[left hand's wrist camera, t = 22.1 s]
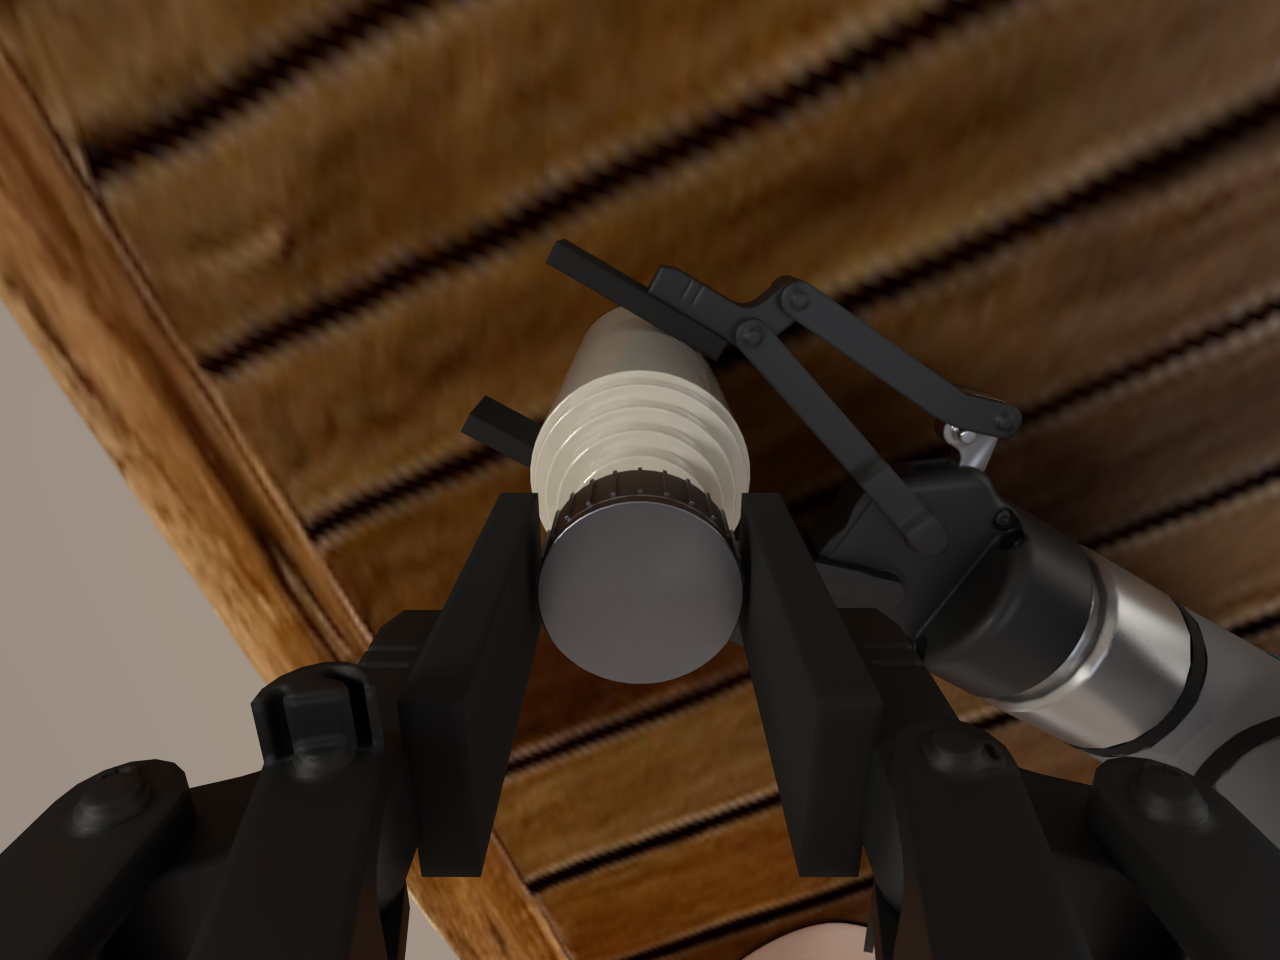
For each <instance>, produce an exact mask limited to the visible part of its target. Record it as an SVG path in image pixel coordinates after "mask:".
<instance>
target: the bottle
mask: <svg viewBox="0 0 1280 960" xmlns="http://www.w3.org/2000/svg"><path fill="white" fill-rule="evenodd" d="M638 467H642V470H651V471H658V472H663V470H666V471H667V473H668V474H671V475H674V476H677V477H679V478H682V479H684V480H686V478H688V479H690V482H691V484H693V485H694V486H696V487H697V488H699V489H700V490H702V491H703V492H704V493H706V492H708V493H709V494H710V497H711V500H712V501H713V502H714V503H715V504H716V505H717V507H718V508H719V510H721V509H723V510H724V512H725V515H726V519H727V522H728V526H729V530H731V529H733V532H734V530H735V529H736V527H737V525H738V523H739V520H740V516H741V497H742V493H748V491H749V484H750V461H749V456H748V450H747V447H746V444H745V441H744V438H743V435H742V433H741V431H740V429H739V427H738V424H737V422H736V420H735V418H734V416H733V414H732V411H731V409H730V407H729V405H728V403H727V401H726V398H725V396H724V394H723V392H722V390H721V388H720V385H719V383H718V381H717V379H716V377H715V375H714V373H713V370H712V368H711V366H710V364H709V362H708V360H707V357H706V355H704V354H702V353H700V352H699V351H697V350H695V349H694V348H692V347H690V346H688V345H687V344H685V343H683V342H682V341H680V340H678V339H676V338H675V337H673V336H671V335H669V334H668V333H666V332H664V331H663V330H661V329H659V328H657V327H656V326H654V325H652V324H650V323H649V322H647V321H645V320H644V319H642V318H640V317H638V316H637V315H635V314H633V313H632V312H630V311H628V310H626V309H625V308H623V307H619V308H616V309H614V310H612V311H610V312H608V313H606V314H605V315H603V316H602V317H600V318H599V319H598V320H597V321H596V322H595V323H594V324H593V325H592V326H591V327H590V328H589V330H588V331H587V332H586V334H585V335H584V337H583V339H582V341H581V343H580V345H579V347H578V350H577V352H576V354H575V356H574V358H573V360H572V363H571V365H570V367H569V369H568V371H567V373H566V376H565V378H564V380H563V382H562V384H561V386H560V389H559V391H558V393H557V395H556V397H555V399H554V402H553V404H552V406H551V408H550V410H549V412H548V415H547V417H546V419H545V421H544V423H543V425H542V428H541V430H540V432H539V435H538V437H537V439H536V442H535V445H534V449H533V453H532V459H531V467H530V479H531V488H532V493H538V497H539V516H540V519H541V521H542V524H543V526H544V528H545V530H546V531H548V530H551V528H552V524H553V521H554V517H555V514H556V511H557V510H560V511H561V509H562V508H563V506H564V505H565V504H566V503H567V501H568V500H569V499H570V494H571V493H572V492H574V493H575V494H576V493H577V492H578V491H579V490H581V489H582V488H583V487H585V486H586V485H588V484H589V483H590V480H591V479H593V478H594V480H597V479H599V478H602V477H604V476H607V475H610V474H613V471H615V470H617V472H623V471H629V470H638Z"/></svg>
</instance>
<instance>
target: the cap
mask: <svg viewBox="0 0 1280 960" xmlns="http://www.w3.org/2000/svg"><path fill="white" fill-rule="evenodd" d="M539 560H541V564H540V567H539V571H538V574H537V578H536V583H537V604H538V609H539V613H540V617H541V620H542V622H543V624H544V627H545V629H546V631H547V632H548V634H549V636H550V637H551V639H552V641H553V642H554V643H555V644H556V646H557V647H558V648H559V649H560V650H561V651H562V652H563V653H564V654H565V655H566V656H567V657H568V658H569V659H570V660H572V661H573V662H574V663H576V664H577V665H578V666H580V667H582V668H584V669H585V670H587V671H589V672H591V673H593V674H596V675H598V676H600V677H603V678H607V679H610V680H614V681H619V682H624V683H636V684H642V683H656V682H662V681H667V680H671V679H674V678H677V677H680V676H683V675H685V674H688V673H690V672H692V671H694V670H695V669H697V668H699V667H701V666H702V665H703V664H705V663H706V662H708V661H709V660H710V659H712V658H713V657H714V656H715V655H716V654H717V653H718V652H719V651H720V650H721V649H722V648H723V647H724V645H725V644H726V643H727V641H728V640H729V638H730V637H731V635H732V634H733V632H734V630H735V628H736V626H737V624H738V622H739V619H740V615H741V612H742V608H743V601H744V583H743V582H745V578H744V575H743V571H742V568H741V564H740V561H739V560H741V555H740V552H739V549H738V545H737V542H736V538H735V535H734V532H733V529H731V530H729V526H728V522H727V519H726V515H725V512H724V510H723V509H721V510H719V508H718V507H717V505H716V504H715V503H714V502H713V501H712V500H711V497H710V494H709V493H708V492H706V493H704V492H703V491H702V490H700V489H699V488H697V487H696V486H694V485H693V484H691V482H690V479H688V478H686V480H684V479H682V478H679V477H677V476H674V475H671V474H668V473H667V471H666V470H663V472H658V471H651V470H642V467H638V470H629V471H623V472H617V470H615V471H613V474H610V475H607V476H604V477H602V478H599V479H597V480H594V478H593V479H591V480H590V483H589V484H588V485H586V486H585V487H583V488H582V489H581V490H579V491H578V492H577V493H576V494H575V493H574V492H572V493H571V494H570V499H569V500H568V501H567V503H566V504H565V505H564V506H563V508H562V509H561V511H560V510H557V511H556V514H555V517H554V521H553V524H552V528H551V530H548V531H547V534H546V537H545V541H544V544H543V548H542V551H541V555H540V558H539Z"/></svg>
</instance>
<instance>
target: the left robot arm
mask: <svg viewBox="0 0 1280 960" xmlns="http://www.w3.org/2000/svg"><path fill="white" fill-rule="evenodd" d="M739 552H740V555H741V560H739V561H740V564H741V568H742V571H743V575H744V578H745V582H743V583H744V601H743V608H742V612H741V615H740V619H739V622H738V624H739V628H740V632H741V636H742V640H743V644H744V649H745V653H746V657H747V661H748V665H749V669H750V674H751V678H752V682H753V686H754V690H755V694H756V698H757V703H758V707H759V711H760V715H761V719H762V723H763V728H764V732H765V736H766V740H767V744H768V748H769V753H770V757H771V761H772V765H773V769H774V773H775V778H776V782H777V786H778V790H779V794H780V798H781V802H782V807H783V811H784V815H785V819H786V823H787V827H788V832H789V836H790V840H791V844H792V848H793V852H794V857H795V861H796V865H797V869H798V873H799V877H858V875H859V868H860V861H861V854H862V847H863V845H864V848H865V851H866V854H867V857H868V859H869V862H870V865H871V868H872V871H873V874H874V876H875V878H874V885H873V891H872V897H871V904H870V910H869V917H868V923H867V930H866V936H865V943H864V951H863V952H868V953H873V949H874V950H875V960H1280V849H1279V848H1278V847H1277V846H1276V845H1274V844H1273V843H1272V842H1271V841H1270V840H1269V839H1268V838H1267V837H1266V836H1265V835H1264V834H1263V833H1262V832H1261V831H1260V830H1259V829H1258V828H1257V827H1256V826H1255V825H1254V824H1253V823H1251V822H1250V821H1249V820H1248V819H1247V818H1246V817H1245V816H1244V815H1243V814H1242V813H1241V812H1240V811H1239V810H1238V809H1237V808H1236V807H1235V806H1234V805H1233V804H1232V803H1231V802H1230V801H1229V800H1227V799H1226V798H1225V797H1224V796H1223V795H1221V794H1220V793H1219V792H1217V791H1216V790H1215V789H1213V788H1212V787H1211V786H1209V785H1208V784H1207V783H1206V782H1204V781H1203V780H1201V779H1199V778H1197V777H1195V776H1193V775H1191V774H1189V773H1187V772H1185V771H1183V770H1181V769H1179V768H1177V767H1174V766H1171V765H1168V764H1166V763H1162V762H1158V761H1155V760H1152V759H1148V758H1138V757H1129V756H1123V757H1118V758H1113V759H1108V760H1106V761H1105V762H1104V763H1102V764H1101V765H1100V766H1099V767H1098V768H1097V769H1096V772H1095V775H1094V779H1093V782H1092V786H1091V785H1087V784H1083V783H1078V782H1074V781H1069V780H1065V779H1060V778H1056V777H1051V776H1047V775H1043V774H1039V773H1035V772H1032V771H1029V770H1025V769H1022V768H1019V767H1018V766H1017V764H1016V762H1015V760H1014V759H1013V757H1012V756H1011V754H1010V753H1009V751H1008V750H1007V748H1006V747H1005V746H1004V745H1003V744H1002V743H1000V742H999V741H998V740H997V739H995V738H994V737H993V736H992V735H990V734H989V733H988V732H986V731H983V730H981V729H979V728H977V727H975V726H973V725H971V724H969V723H967V722H963V721H960V720H959V719H958V717H957V716H956V714H955V712H954V711H953V709H952V708H951V706H950V705H949V703H948V701H947V700H946V698H945V697H944V695H943V693H942V692H941V690H940V689H939V687H938V686H937V684H936V682H935V681H934V679H933V678H932V676H931V674H930V673H929V671H928V670H927V668H926V666H923V665H922V660H921V659H920V657H919V655H918V654H917V652H916V651H915V649H912V644H911V643H910V641H909V640H908V638H907V636H906V635H905V633H904V632H903V630H902V628H901V627H900V625H899V624H897V623H896V622H895V621H893V620H892V619H890V618H889V617H888V616H886V615H885V614H884V613H882V612H881V611H879V610H878V609H877V608H837V607H836V605H835V603H834V601H833V599H832V597H831V595H830V593H829V591H828V589H827V587H826V585H825V583H824V581H823V579H822V577H821V575H820V573H819V571H818V569H817V567H816V565H815V563H814V561H813V559H812V557H811V555H810V553H809V551H808V549H807V547H806V545H805V543H804V541H803V539H802V537H801V535H800V533H799V531H798V529H797V527H796V525H795V523H794V521H793V519H792V517H791V515H790V513H789V511H788V509H787V507H786V505H785V503H784V501H783V499H782V497H781V495H780V493H742V497H741V516H740V534H739ZM540 555H541V535H540V516H539V497H538V493H500V495H499V497H498V499H497V501H496V503H495V505H494V507H493V509H492V511H491V513H490V515H489V517H488V519H487V521H486V523H485V525H484V527H483V529H482V531H481V533H480V535H479V537H478V539H477V541H476V543H475V545H474V547H473V549H472V551H471V553H470V555H469V557H468V559H467V561H466V563H465V565H464V567H463V569H462V571H461V573H460V575H459V577H458V579H457V581H456V583H455V585H454V587H453V589H452V591H451V593H450V595H449V597H448V599H447V601H446V603H445V605H444V607H443V609H442V610H404V611H402V612H401V613H400V614H398V615H397V616H396V617H394V618H393V619H392V620H390V621H389V622H387V623H386V624H385V625H383V626H382V627H381V628H380V630H379V631H378V633H377V634H376V636H375V638H374V639H373V641H372V642H371V644H370V646H369V649H368V651H366V652H365V654H364V655H363V657H362V658H361V660H360V662H359V663H358V665H356V664H353V663H349V662H323V663H319V664H314V665H309V666H305V667H301V668H299V669H296V670H294V671H292V672H289V673H287V674H285V675H282V676H280V677H278V678H277V679H276V680H274V681H273V682H271V683H270V684H268V685H267V686H266V687H264V688H263V689H262V690H261V691H260V692H259V693H258V695H257V696H256V697H255V699H254V700H253V701H252V702H251V708H252V712H253V716H254V721H255V725H256V729H257V734H258V738H259V742H260V747H261V751H262V755H263V760H264V765H263V768H262V770H261V771H258V772H255V773H251V774H248V775H245V776H241V777H237V778H233V779H229V780H224V781H220V782H215V783H211V784H206V785H202V786H198V787H194V788H189V786H188V782H187V779H186V775H185V772H184V771H183V770H182V769H181V768H179V767H178V766H177V765H176V764H175V763H173V762H168V761H162V760H157V759H152V760H143V761H134V762H129V763H126V764H123V765H119V766H116V767H113V768H110V769H107V770H104V771H102V772H100V773H98V774H96V775H94V776H92V777H90V778H89V779H86V780H85V781H83V782H81V783H79V784H77V785H76V786H74V787H73V788H72V789H71V790H69V791H68V792H67V793H65V794H64V795H63V796H61V797H60V798H59V799H58V800H56V801H55V802H54V803H53V804H52V805H51V806H50V807H49V808H48V809H47V810H46V811H45V812H44V813H43V814H41V815H40V816H39V817H38V818H37V819H36V820H35V821H34V822H33V823H32V824H31V825H30V826H29V827H28V828H27V829H26V830H25V831H24V832H23V833H22V834H21V835H20V836H19V837H18V838H17V839H16V840H15V841H13V842H12V843H11V844H10V845H9V846H8V847H7V848H6V849H5V850H4V851H3V852H2V853H1V854H0V960H405V951H406V941H407V931H408V921H409V911H410V906H409V898H408V891H407V885H406V877H407V874H408V871H409V869H410V866H411V863H412V860H413V857H414V854H415V852H416V849H417V847H418V854H419V861H420V868H421V875H422V877H481V873H482V869H483V865H484V861H485V856H486V852H487V848H488V844H489V840H490V836H491V832H492V827H493V823H494V819H495V815H496V811H497V807H498V802H499V798H500V794H501V790H502V786H503V782H504V777H505V773H506V769H507V765H508V761H509V757H510V752H511V748H512V744H513V740H514V736H515V732H516V728H517V723H518V719H519V715H520V711H521V707H522V703H523V698H524V694H525V690H526V686H527V682H528V678H529V673H530V669H531V665H532V661H533V657H534V653H535V649H536V644H537V640H538V636H539V632H540V628H541V624H542V620H541V617H540V613H539V609H538V604H537V583H536V578H537V574H538V571H539V567H540V564H541V560H539V558H540Z"/></svg>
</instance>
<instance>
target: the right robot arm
mask: <svg viewBox="0 0 1280 960" xmlns="http://www.w3.org/2000/svg"><path fill="white" fill-rule="evenodd" d="M546 263H547V264H549V265H551V266H552V267H554V268H556V269H557V270H559V271H561V272H563V273H564V274H566V275H568V276H569V277H571V278H573V279H575V280H576V281H578V282H580V283H582V284H583V285H585V286H587V287H588V288H590V289H592V290H594V291H595V292H597V293H599V294H600V295H602V296H604V297H606V298H607V299H609V300H611V301H613V302H614V303H616V304H618V305H619V306H621V307H623V308H625V309H626V310H628V311H630V312H632V313H633V314H635V315H637V316H638V317H640V318H642V319H644V320H645V321H647V322H649V323H650V324H652V325H654V326H656V327H657V328H659V329H661V330H663V331H664V332H666V333H668V334H669V335H671V336H673V337H675V338H676V339H678V340H680V341H682V342H683V343H685V344H687V345H688V346H690V347H692V348H694V349H695V350H697V351H699V352H700V353H702V354H704V355H706V356H707V357H709V358H711V359H712V360H714V361H717V360H718V358H719V356H720V355H721V353H722V351H723V350H724V348H725V346H726V345H727V343H728V342H729V343H730V344H732V345H734V346H736V347H737V348H739V349H740V351H741V352H742V353H743V354H744V355H745V356H746V357H747V358H748V360H749V361H750V362H751V363H752V364H753V365H754V366H755V367H756V369H757V370H758V371H759V372H760V373H761V374H762V375H763V376H764V378H765V379H766V380H767V381H768V382H769V383H770V384H771V385H772V387H773V388H774V389H775V390H776V391H777V392H778V393H779V394H780V396H781V397H782V398H783V399H784V400H785V401H786V402H787V403H788V405H789V406H790V407H791V408H792V409H793V410H794V411H795V412H796V414H797V415H798V416H799V417H800V418H801V419H802V420H803V421H804V423H805V424H806V425H807V426H808V427H809V428H810V429H811V430H812V432H813V433H814V434H815V435H816V436H817V437H818V438H819V439H820V440H821V442H822V443H823V444H824V445H825V446H826V447H827V448H828V449H829V451H830V452H831V453H832V454H833V455H834V456H835V457H836V458H837V460H838V461H839V462H840V463H841V464H842V465H843V466H844V467H845V469H846V470H847V471H848V472H849V473H850V474H849V476H848V477H847V478H846V480H845V481H844V483H843V484H842V485H841V487H840V489H839V491H838V494H837V496H836V499H835V501H834V504H833V506H832V507H831V508H830V509H829V510H827V511H826V512H825V513H824V514H823V515H822V516H820V517H819V518H818V519H817V520H816V522H815V523H814V524H813V526H812V527H811V528H808V527H804V526H799V525H796V527H797V529H798V531H799V533H800V535H801V537H802V539H803V541H804V543H805V545H806V547H807V549H808V551H809V553H810V555H811V557H812V559H813V561H814V563H815V565H816V567H817V569H818V571H819V573H820V575H821V577H822V579H823V581H824V583H825V585H826V587H827V589H828V591H829V593H830V595H831V597H832V599H833V601H834V603H835V605H836V607H837V608H877V609H878V610H879V611H881V612H882V613H884V614H885V615H886V616H888V617H889V618H890V619H892V620H893V621H895V622H896V623H897V624H899V625H900V627H901V628H902V630H903V632H904V633H905V635H906V636H907V638H908V640H909V641H910V643H911V644H912V649H915V651H916V652H917V654H918V655H919V657H920V659H921V660H922V665H923V666H926V668H927V670H928V671H929V672H930V673H932V674H934V675H936V676H938V677H940V678H942V679H944V680H946V681H947V682H949V683H951V684H953V685H955V686H957V687H959V688H961V689H963V690H965V691H967V692H969V693H971V694H973V695H976V696H979V697H982V698H983V699H984V700H985V701H987V702H988V703H989V704H990V705H992V706H994V707H996V708H998V709H1000V710H1002V711H1004V712H1006V713H1008V714H1010V715H1012V716H1014V717H1016V718H1018V719H1020V720H1022V721H1024V722H1026V723H1028V724H1030V725H1032V726H1034V727H1036V728H1038V729H1040V730H1042V731H1044V732H1046V733H1048V734H1050V735H1052V736H1054V737H1056V738H1058V739H1060V740H1062V741H1063V742H1065V743H1066V744H1068V745H1070V746H1072V747H1074V748H1075V749H1079V750H1081V751H1083V752H1084V753H1086V754H1088V755H1090V756H1092V757H1094V758H1095V759H1097V760H1099V761H1101V762H1103V763H1104V762H1105V761H1106V760H1108V759H1113V758H1118V757H1123V756H1129V757H1138V758H1148V759H1152V760H1155V761H1158V762H1162V763H1166V764H1168V765H1171V766H1174V767H1177V768H1179V769H1181V770H1183V771H1185V772H1187V773H1189V774H1191V775H1193V776H1195V777H1197V778H1199V779H1201V780H1203V781H1204V782H1206V783H1207V784H1208V785H1209V786H1211V787H1212V788H1213V789H1215V790H1216V791H1217V792H1219V793H1220V794H1221V795H1223V796H1224V797H1225V798H1226V799H1227V800H1229V801H1230V802H1231V803H1232V804H1233V805H1234V806H1235V807H1236V808H1237V809H1238V810H1239V811H1240V812H1241V813H1242V814H1243V815H1244V816H1245V817H1246V818H1247V819H1248V820H1249V821H1250V822H1251V823H1253V824H1254V825H1255V826H1256V827H1257V828H1258V829H1259V830H1260V831H1261V832H1262V833H1263V834H1264V835H1265V836H1266V837H1267V838H1268V839H1269V840H1270V841H1271V842H1272V843H1273V844H1274V845H1276V846H1277V847H1278V848H1279V849H1280V657H1279V656H1277V655H1275V654H1273V653H1271V652H1270V653H1267V652H1264V651H1262V650H1261V649H1259V648H1257V647H1256V646H1254V645H1252V644H1250V643H1249V642H1247V641H1245V640H1244V639H1242V638H1240V637H1238V636H1236V635H1234V634H1233V633H1231V632H1229V631H1227V630H1225V629H1224V628H1222V627H1220V626H1218V625H1216V624H1215V623H1213V622H1211V621H1209V620H1207V619H1206V618H1204V617H1202V616H1200V615H1198V614H1197V613H1195V612H1193V611H1191V610H1190V609H1188V608H1186V607H1184V606H1182V605H1181V604H1179V603H1178V602H1177V601H1176V600H1174V599H1173V598H1171V597H1170V596H1168V595H1167V594H1165V593H1163V592H1162V591H1160V590H1158V589H1157V588H1155V587H1153V586H1152V585H1150V584H1148V583H1147V582H1145V581H1143V580H1142V579H1140V578H1138V577H1137V576H1135V575H1133V574H1132V573H1130V572H1128V571H1127V570H1125V569H1123V568H1122V567H1120V566H1118V565H1117V564H1115V563H1113V562H1112V561H1110V560H1108V559H1107V558H1105V557H1103V556H1102V555H1100V554H1098V553H1096V552H1095V551H1093V550H1091V549H1089V548H1087V547H1085V546H1083V545H1080V544H1078V543H1077V542H1076V541H1075V540H1073V539H1072V538H1071V537H1069V536H1068V535H1066V534H1065V533H1063V532H1061V531H1059V530H1058V529H1056V528H1054V527H1053V526H1051V525H1049V524H1048V523H1046V522H1044V521H1043V520H1041V519H1039V518H1037V517H1036V516H1034V515H1032V514H1031V513H1029V512H1027V511H1026V510H1024V509H1022V508H1021V507H1019V506H1017V505H1015V504H1014V503H1012V502H1010V501H1009V500H1007V499H1005V498H1004V497H1002V496H1000V495H999V494H998V493H997V491H996V490H995V488H994V486H993V483H992V481H991V479H990V478H989V476H988V475H987V474H986V473H985V472H984V470H985V468H986V466H987V463H988V461H989V459H990V456H991V454H992V452H993V449H994V447H995V445H996V442H997V440H998V438H1007V437H1010V436H1012V435H1013V434H1014V433H1016V432H1017V430H1018V429H1019V427H1020V426H1021V422H1022V417H1021V413H1020V412H1019V410H1018V409H1017V408H1015V407H1013V406H1011V405H1009V404H1007V403H1006V402H1004V401H1002V400H1000V399H998V398H996V397H994V396H992V395H990V394H988V393H986V392H984V391H982V390H978V389H974V388H970V387H966V386H962V385H957V384H953V383H949V382H947V381H946V380H944V379H943V378H942V377H940V376H939V375H937V374H936V373H935V372H933V371H932V370H930V369H929V368H927V367H926V366H925V365H923V364H922V363H920V362H919V361H918V360H916V359H915V358H913V357H912V356H911V355H909V354H908V353H906V352H905V351H904V350H902V349H901V348H899V347H898V346H897V345H895V344H894V343H892V342H891V341H889V340H888V339H887V338H885V337H884V336H882V335H881V334H880V333H878V332H877V331H875V330H874V329H873V328H871V327H870V326H868V325H867V324H866V323H864V322H863V321H861V320H860V319H859V318H857V317H856V316H854V315H853V314H852V313H850V312H849V311H847V310H846V309H844V308H843V307H842V306H840V305H839V304H837V303H836V302H835V301H833V300H832V299H830V298H829V297H828V296H826V295H825V294H823V293H822V292H821V291H819V290H818V289H816V288H815V287H814V286H812V285H811V284H809V283H806V282H805V281H802V280H800V279H797V278H795V277H792V276H781V277H779V278H777V279H776V280H775V281H774V282H773V283H772V284H771V287H770V288H768V289H767V290H766V291H765V292H764V293H762V294H761V295H760V296H759V297H758V298H756V299H755V300H753V301H751V302H748V303H737V302H734V301H732V300H730V299H728V298H727V297H725V296H723V295H722V294H720V293H718V292H717V291H715V290H713V289H712V288H710V287H708V286H707V285H705V284H703V283H702V282H700V281H698V280H697V279H695V278H693V277H692V276H690V275H688V274H687V273H685V272H683V271H682V270H680V269H678V268H677V267H674V266H667V265H660V266H659V268H658V270H657V272H656V274H655V275H654V277H653V279H652V281H651V283H650V284H649V286H648V288H647V287H646V286H644V285H642V284H641V283H639V282H637V281H635V280H634V279H632V278H630V277H629V276H627V275H625V274H624V273H622V272H620V271H619V270H617V269H615V268H613V267H612V266H610V265H608V264H607V263H605V262H603V261H602V260H600V259H598V258H597V257H595V256H593V255H591V254H590V253H588V252H586V251H585V250H583V249H581V248H580V247H578V246H576V245H574V244H573V243H571V242H569V241H568V240H566V239H562V240H559V241H556V243H555V245H554V247H553V249H552V251H551V253H550V255H549V257H548V259H547V261H546ZM795 321H797V322H798V323H800V324H801V325H803V326H804V327H805V328H807V329H808V330H810V331H811V332H813V333H814V334H816V335H817V336H818V337H820V338H821V339H823V340H824V341H826V342H827V343H829V344H830V345H831V346H833V347H834V348H836V349H837V350H839V351H840V352H841V353H843V354H844V355H846V356H847V357H849V358H850V359H852V360H853V361H854V362H856V363H857V364H859V365H860V366H862V367H863V368H864V369H866V370H867V371H869V372H870V373H872V374H873V375H875V376H876V377H877V378H879V379H880V380H882V381H883V382H885V383H886V384H887V385H889V386H890V387H892V388H893V389H895V390H896V391H898V392H899V393H900V394H902V395H903V396H905V397H906V398H908V399H909V400H911V401H912V402H913V403H915V404H916V405H918V406H919V407H921V408H922V409H924V410H925V411H926V412H928V413H929V414H931V415H932V416H934V417H935V424H934V429H935V432H936V434H937V435H938V436H939V437H940V438H942V439H943V440H944V441H946V442H947V443H948V444H949V445H950V447H951V455H950V457H946V458H936V459H926V460H916V461H907V462H897V463H886V462H885V460H884V459H883V458H882V457H881V456H880V455H879V454H878V453H877V452H876V450H875V449H874V448H873V447H872V446H871V445H870V444H869V442H868V441H867V440H866V439H865V438H864V437H863V436H862V434H861V433H860V432H859V431H858V430H857V429H856V427H855V426H854V425H853V424H852V423H851V422H850V420H849V419H848V418H847V417H846V416H845V415H844V414H843V412H842V411H841V410H840V409H839V408H838V407H837V405H836V404H835V403H834V402H833V401H832V400H831V399H830V397H829V396H828V395H827V394H826V393H825V392H824V390H823V389H822V388H821V387H820V386H819V385H818V384H817V382H816V381H815V380H814V379H813V378H812V377H811V375H810V374H809V373H808V372H807V371H806V370H805V369H804V367H803V366H802V365H801V364H800V363H799V362H798V360H797V359H796V358H795V357H794V356H793V355H792V354H791V352H790V351H789V350H788V349H787V348H786V347H785V345H784V344H783V343H782V342H781V341H780V340H779V339H778V337H777V335H779V334H780V333H781V332H782V331H784V330H785V329H786V328H787V327H789V326H790V325H791V324H792V323H794V322H795ZM541 428H542V425H540V424H538V423H536V422H535V421H533V420H531V419H529V418H527V417H525V416H523V415H521V414H520V413H518V412H516V411H514V410H512V409H510V408H508V407H506V406H505V405H503V404H501V403H499V402H497V401H495V400H493V399H491V398H490V397H488V396H486V395H485V396H484V398H483V399H482V400H481V401H480V402H479V404H478V405H477V406H476V407H475V408H474V409H473V411H472V412H471V413H470V414H469V416H468V418H467V420H466V422H465V424H464V426H463V428H462V430H461V432H462V433H464V434H466V435H468V436H470V437H472V438H474V439H476V440H478V441H479V442H481V443H483V444H485V445H487V446H489V447H491V448H493V449H495V450H497V451H499V452H501V453H502V454H504V455H506V456H508V457H510V458H512V459H514V460H516V461H518V462H520V463H522V464H524V465H526V466H527V467H529V468H530V467H531V459H532V453H533V449H534V445H535V442H536V439H537V437H538V435H539V432H540V430H541ZM739 534H740V520H739V523H738V525H737V527H736V529H735V530H734V535H735V538H736V542H737V545H738V549H739ZM729 641H732V642H734V643H736V644H739V645H741V646H743V647H744V644H743V640H742V636H741V632H740V628H739V624H737V626H736V628H735V630H734V632H733V634H732V635H731V637H730V638H729Z"/></svg>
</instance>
